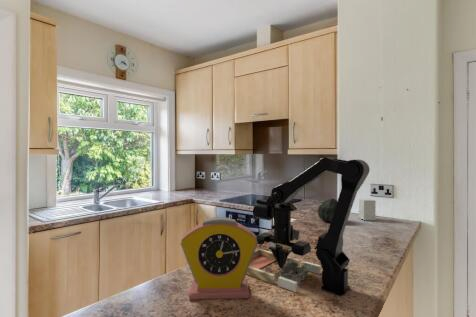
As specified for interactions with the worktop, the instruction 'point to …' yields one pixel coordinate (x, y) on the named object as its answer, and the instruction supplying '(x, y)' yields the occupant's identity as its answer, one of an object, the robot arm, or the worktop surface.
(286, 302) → the worktop surface
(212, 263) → the retro mantel clock
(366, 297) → the worktop surface
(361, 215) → the supplement box
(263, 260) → the channel
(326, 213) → the squash
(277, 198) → the robot arm
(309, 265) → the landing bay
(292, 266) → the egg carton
